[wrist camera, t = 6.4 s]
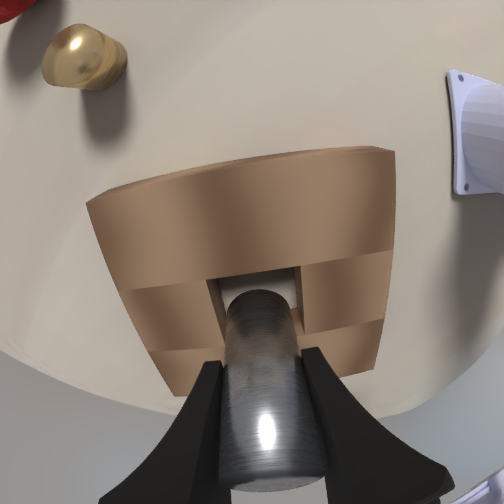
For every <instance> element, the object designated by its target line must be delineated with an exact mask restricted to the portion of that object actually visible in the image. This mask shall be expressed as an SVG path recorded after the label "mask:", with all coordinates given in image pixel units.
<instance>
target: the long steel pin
mask: <svg viewBox="0 0 504 504" xmlns="http://www.w3.org/2000/svg"><path fill="white" fill-rule="evenodd" d="M325 473H326V472H325V467H324V462H323V457H322V452H321V447H320V442H319V437H318V432H317V427H316V422H315V417H314V413H313V408H312V403H311V399H310V394H309V389H308V385H307V381H306V377H305V372H304V368H303V363H302V359H301V354H300V349H299V345H298V341H297V336H296V332H295V328H294V324H293V320H292V315H291V311H290V307H289V305H288V303H287V301H286V300H285V299H284V298H283V297H282V296H281V295H279V294H277V293H275V292H273V291H270V290H264V289H256V290H250V291H247V292H244V293H242V294H240V295H239V296H237V297H236V298H235V299H234V300H233V301H232V302H231V304H230V305H229V308H228V311H227V322H226V337H225V352H224V369H223V386H222V405H221V425H220V449H219V477H218V482H219V484H220V485H222V486H224V487H226V488H229V489H234V490H238V491H246V492H273V491H283V490H289V489H293V488H298V487H302V486H305V485H308V484H311V483H313V482H316V481H318V480H319V479H321V478H322V477H324V475H325Z"/></svg>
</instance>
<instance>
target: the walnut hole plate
mask: <svg viewBox="0 0 504 504" xmlns="http://www.w3.org/2000/svg"><path fill="white" fill-rule="evenodd" d="M86 206H87V209H88V213H89V216H90V219H91V222H92V225H93V228H94V231H95V234H96V237H97V240H98V243H99V245H100V248H101V251H102V254H103V256H104V259H105V261H106V264H107V266H108V269H109V271H110V274H111V276H112V279H113V281H114V283H115V286H116V288H117V290H118V293H119V295H120V297H121V299H122V302H123V304H124V306H125V308H126V310H127V312H128V314H129V316H130V318H131V321H132V323H133V325H134V327H135V329H136V331H137V332H138V334H139V336H140V338H141V340H142V342H143V344H144V346H145V348H146V349H147V351H148V353H149V355H150V357H151V358H152V360H153V362H154V364H155V365H156V367H157V369H158V371H159V372H160V374H161V376H162V377H163V379H164V381H165V382H166V384H167V385H168V387H169V389H170V390H171V392H172V393H173V395H174V396H189V394H190V392H191V390H192V388H193V386H194V383H195V381H196V379H197V377H198V375H199V373H200V370H201V368H202V365H203V363H204V362H205V361H215V360H221V362H222V365H223V368H224V352H225V337H226V322H227V315H226V312H225V308H224V304H223V300H222V297H221V293H220V289H219V285H218V281H217V278H222V277H229V276H236V275H242V274H249V273H256V272H262V271H269V270H275V269H282V268H288V267H294V271H295V282H296V294H297V307H298V308H294V309H290V311H291V315H292V320H293V324H294V328H295V332H296V336H297V341H298V345H299V349H300V354H301V349H305V348H311V347H316V346H317V347H319V348H320V350H321V352H322V353H323V355H324V357H325V359H326V360H327V362H328V363H329V365H330V366H331V368H332V369H333V371H334V372H335V374H336V375H337V376H338V378H341V377H345V376H349V375H353V374H357V373H361V372H365V371H368V370H372V369H374V365H375V361H376V357H377V353H378V348H379V343H380V339H381V334H382V329H383V323H384V318H385V312H386V306H387V299H388V293H389V285H390V277H391V268H392V258H393V247H394V232H395V208H396V171H395V151H392V150H387V149H383V148H378V147H373V146H359V147H342V148H329V149H317V150H307V151H297V152H289V153H280V154H273V155H266V156H259V157H252V158H246V159H239V160H234V161H228V162H222V163H217V164H212V165H206V166H201V167H197V168H192V169H187V170H183V171H178V172H174V173H169V174H165V175H161V176H157V177H153V178H149V179H145V180H141V181H137V182H134V183H130V184H126V185H123V186H119V187H116V188H113V189H109V190H107V191H105V192H103V193H102V194H100V195H98V196H96V197H95V198H93V199H91V200H89V201H88V202H86Z"/></svg>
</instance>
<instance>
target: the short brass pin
mask: <svg viewBox="0 0 504 504" xmlns="http://www.w3.org/2000/svg"><path fill="white" fill-rule="evenodd" d="M126 63H127V52H126V49H125V47H124V46H123V45H122V44H121V43H119V42H118V41H116V40H114V39H112V38H110V37H109V36H107V35H105V34H103V33H101V32H100V31H98V30H96V29H94V28H92V27H90V26H88V25H86V24H74V25H71V26H69V27H67V28H65V29H64V30H62V31H61V32H60V33H59V34H58V35H57V36H56V37H55V38H54V39H53V40H52V42H51V43H50V44H49V46H48V48H47V50H46V52H45V54H44V57H43V62H42V74H43V77H44V79H45V81H46V82H47V83H48V84H50V85H53V86H60V87H70V88H78V89H85V90H92V91H99V90H103V89H106V88H108V87H109V86H111V85H112V84H114V83H115V82H116V81H117V80H118V79H119V77H120V76H121V75H122V73H123V71H124V69H125V66H126Z"/></svg>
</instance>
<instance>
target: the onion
mask: <svg viewBox="0 0 504 504" xmlns="http://www.w3.org/2000/svg"><path fill="white" fill-rule="evenodd" d="M36 1H37V0H0V24H2V23H5V22H8V21H10V20H12V19H13V18H15V17H17V16H18V15H20V14H22V13H23V12H25V11H26V10H27V9H28V8H29V7H31V6H32V5H33V4H34V3H35V2H36Z"/></svg>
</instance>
